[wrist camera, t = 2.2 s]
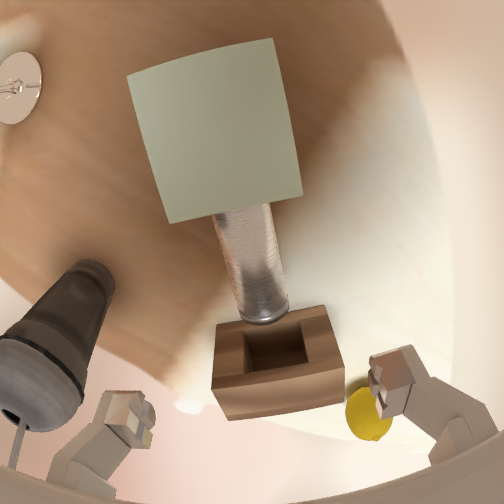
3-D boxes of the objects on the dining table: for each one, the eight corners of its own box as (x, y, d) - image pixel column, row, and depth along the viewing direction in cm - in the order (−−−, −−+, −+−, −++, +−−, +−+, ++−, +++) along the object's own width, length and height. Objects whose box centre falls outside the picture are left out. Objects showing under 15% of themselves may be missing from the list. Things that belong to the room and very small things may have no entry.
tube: (183, 86, 17) (169, 84, 13) (241, 72, 16) (240, 66, 13) (240, 298, 24) (240, 329, 21) (286, 289, 24) (292, 320, 21)
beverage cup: (107, 236, 23) (-28, 455, 6) (141, 305, 27) (75, 519, 9) (48, 255, 24) (-74, 427, 6) (82, 316, 27) (5, 491, 10)
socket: (216, 324, 28) (211, 389, 21) (324, 304, 27) (344, 366, 21) (230, 359, 30) (228, 420, 24) (327, 342, 30) (343, 401, 23)
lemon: (353, 372, 32) (371, 428, 25) (389, 375, 33) (409, 426, 26) (331, 398, 35) (344, 452, 28) (366, 400, 36) (381, 449, 29)
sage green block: (161, 81, 18) (126, 76, 12) (263, 56, 17) (272, 37, 11) (189, 186, 22) (169, 224, 16) (285, 165, 21) (303, 195, 15)
